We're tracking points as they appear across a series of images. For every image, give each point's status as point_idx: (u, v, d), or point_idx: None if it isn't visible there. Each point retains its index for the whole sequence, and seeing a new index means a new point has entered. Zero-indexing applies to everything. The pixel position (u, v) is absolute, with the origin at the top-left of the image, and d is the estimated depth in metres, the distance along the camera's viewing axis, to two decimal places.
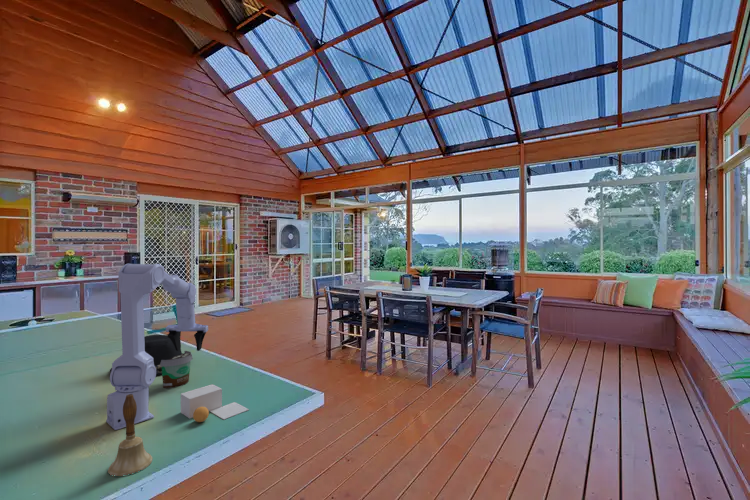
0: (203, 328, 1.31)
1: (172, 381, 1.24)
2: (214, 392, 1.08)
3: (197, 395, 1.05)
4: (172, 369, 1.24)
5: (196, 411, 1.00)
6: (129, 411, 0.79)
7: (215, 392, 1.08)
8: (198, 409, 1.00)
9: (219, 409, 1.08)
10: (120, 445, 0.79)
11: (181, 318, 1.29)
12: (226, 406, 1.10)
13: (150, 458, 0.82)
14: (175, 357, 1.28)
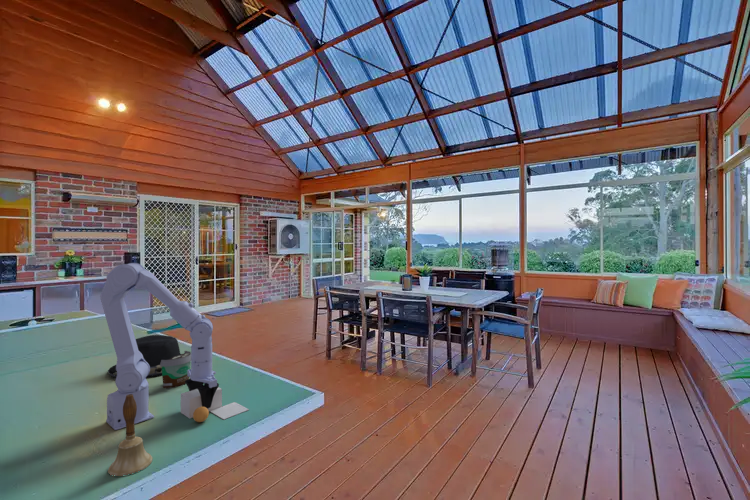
0: (208, 382, 1.03)
1: (172, 381, 1.24)
2: None
3: (197, 395, 1.05)
4: (172, 369, 1.24)
5: (196, 411, 1.00)
6: (129, 411, 0.79)
7: (215, 392, 1.08)
8: (198, 409, 1.00)
9: (219, 409, 1.08)
10: (120, 445, 0.79)
11: (192, 363, 1.06)
12: (226, 406, 1.10)
13: (150, 458, 0.82)
14: (175, 357, 1.28)
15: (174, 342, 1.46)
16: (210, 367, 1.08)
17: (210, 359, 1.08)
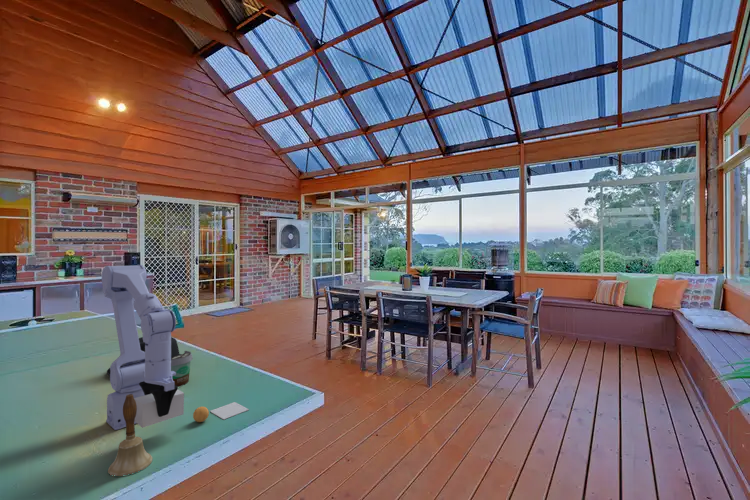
0: (164, 384, 0.87)
1: None
2: (174, 397, 0.93)
3: (153, 400, 0.89)
4: (172, 369, 1.24)
5: (196, 411, 1.00)
6: (129, 411, 0.79)
7: (175, 396, 0.93)
8: (198, 409, 1.00)
9: (219, 409, 1.08)
10: (120, 445, 0.79)
11: (145, 362, 0.90)
12: (226, 406, 1.10)
13: (150, 458, 0.82)
14: (175, 357, 1.28)
15: (174, 342, 1.45)
16: (168, 367, 0.92)
17: (156, 360, 0.90)
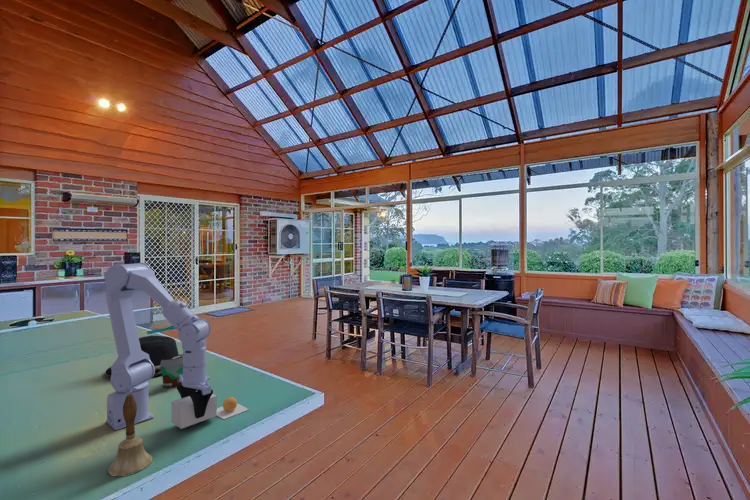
0: (202, 388, 0.95)
1: (172, 381, 1.24)
2: None
3: (189, 403, 0.96)
4: (172, 369, 1.24)
5: None
6: (129, 411, 0.79)
7: (209, 399, 1.00)
8: None
9: (219, 409, 1.08)
10: (120, 445, 0.79)
11: (183, 368, 0.97)
12: None
13: (150, 458, 0.82)
14: (175, 357, 1.28)
15: (172, 342, 1.45)
16: (204, 372, 0.99)
17: (200, 365, 0.98)
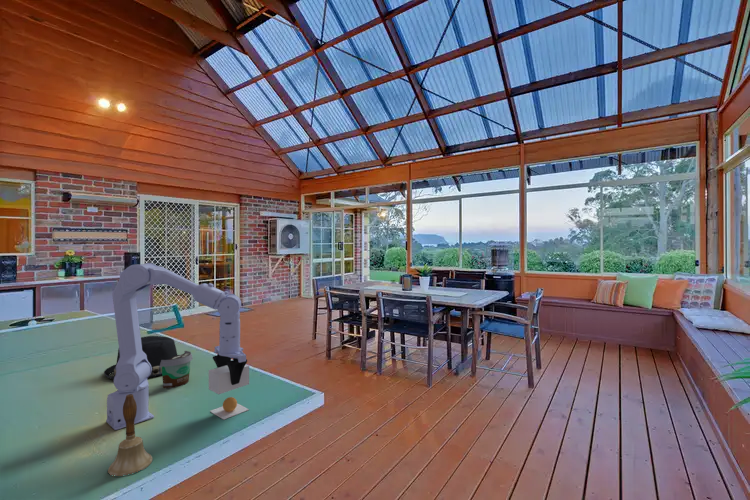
0: (238, 357, 1.03)
1: (172, 381, 1.24)
2: None
3: (225, 371, 1.04)
4: (172, 369, 1.24)
5: None
6: (129, 411, 0.79)
7: None
8: None
9: (219, 409, 1.08)
10: (120, 445, 0.79)
11: (220, 338, 1.05)
12: None
13: (150, 458, 0.82)
14: (175, 357, 1.28)
15: (171, 343, 1.44)
16: (238, 343, 1.07)
17: (238, 335, 1.07)
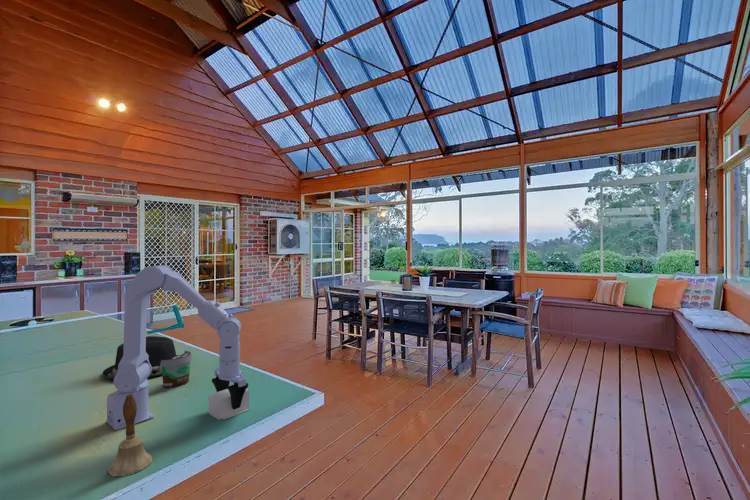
0: (238, 381, 1.03)
1: (172, 381, 1.24)
2: None
3: (225, 396, 1.04)
4: (172, 369, 1.24)
5: None
6: (129, 411, 0.79)
7: None
8: None
9: None
10: (120, 445, 0.79)
11: (220, 362, 1.05)
12: None
13: (150, 458, 0.82)
14: (175, 357, 1.28)
15: (170, 343, 1.44)
16: (238, 366, 1.07)
17: (237, 358, 1.07)
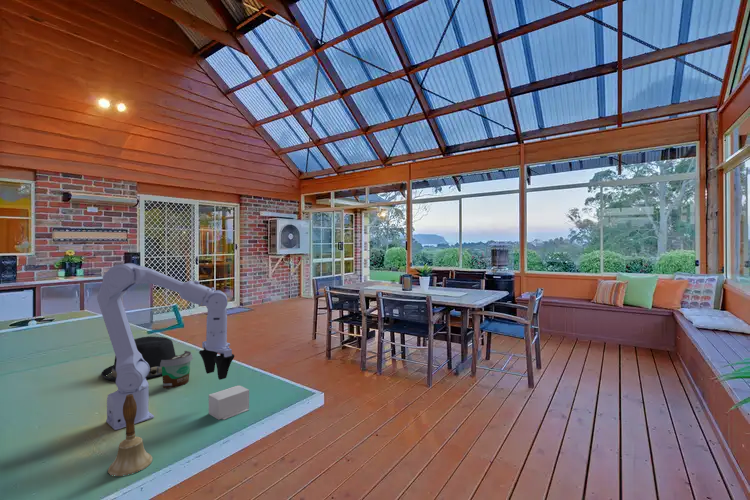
0: (224, 351, 1.05)
1: (172, 381, 1.24)
2: (242, 393, 1.08)
3: (225, 396, 1.04)
4: (172, 369, 1.24)
5: None
6: (129, 411, 0.79)
7: (242, 393, 1.08)
8: None
9: None
10: (120, 445, 0.79)
11: (207, 333, 1.08)
12: None
13: (150, 458, 0.82)
14: (175, 357, 1.28)
15: (169, 343, 1.44)
16: (225, 338, 1.09)
17: (225, 330, 1.09)
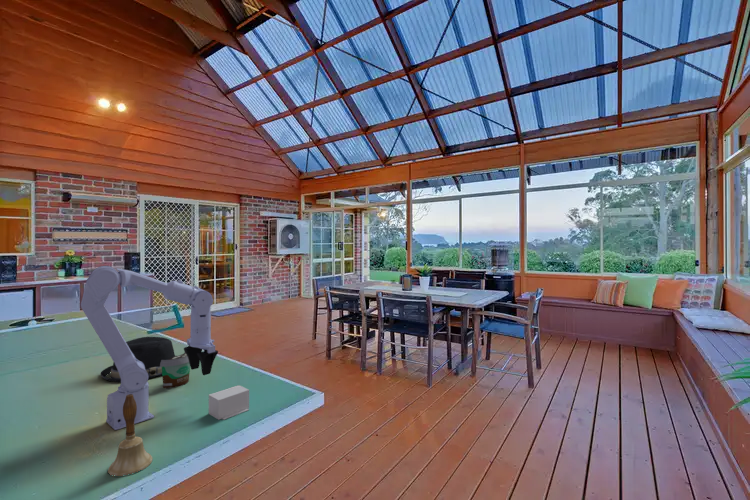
0: (207, 347, 1.08)
1: (172, 381, 1.24)
2: (242, 393, 1.08)
3: (225, 396, 1.04)
4: (172, 369, 1.24)
5: None
6: (129, 411, 0.79)
7: (242, 393, 1.08)
8: None
9: None
10: (120, 445, 0.79)
11: (191, 330, 1.11)
12: None
13: (150, 458, 0.82)
14: (175, 357, 1.28)
15: (169, 343, 1.43)
16: (209, 335, 1.12)
17: (210, 326, 1.13)
